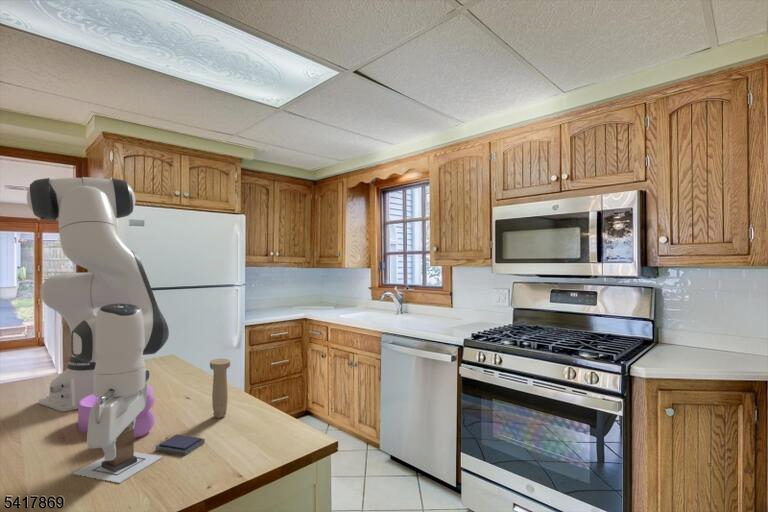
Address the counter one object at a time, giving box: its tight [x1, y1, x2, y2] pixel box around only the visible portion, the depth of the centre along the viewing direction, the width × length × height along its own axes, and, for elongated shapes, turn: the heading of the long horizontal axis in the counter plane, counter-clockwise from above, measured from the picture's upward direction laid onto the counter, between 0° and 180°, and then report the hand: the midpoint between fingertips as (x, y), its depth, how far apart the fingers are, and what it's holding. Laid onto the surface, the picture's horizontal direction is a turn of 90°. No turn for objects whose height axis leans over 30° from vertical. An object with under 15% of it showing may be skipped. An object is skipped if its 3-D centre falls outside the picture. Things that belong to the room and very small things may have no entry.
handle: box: [209, 358, 231, 419], centre depth 105 cm, size 5×6×15 cm
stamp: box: [101, 427, 137, 472], centre depth 80 cm, size 4×4×7 cm
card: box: [72, 451, 163, 484], centre depth 80 cm, size 12×10×1 cm
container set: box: [77, 384, 156, 439], centre depth 100 cm, size 25×15×13 cm, turn 55°
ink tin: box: [155, 434, 206, 457], centre depth 88 cm, size 8×6×1 cm
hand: (119, 449), depth 80 cm, fingers open, 7 cm apart
